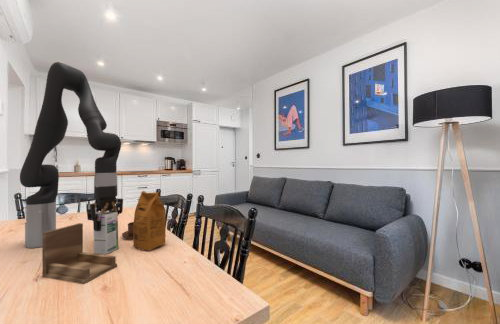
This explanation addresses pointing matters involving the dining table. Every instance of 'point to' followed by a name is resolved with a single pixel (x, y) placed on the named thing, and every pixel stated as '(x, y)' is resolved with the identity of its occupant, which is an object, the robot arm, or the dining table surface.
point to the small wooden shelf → (71, 256)
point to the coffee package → (149, 222)
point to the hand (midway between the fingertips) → (106, 228)
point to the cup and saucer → (129, 231)
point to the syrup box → (107, 234)
